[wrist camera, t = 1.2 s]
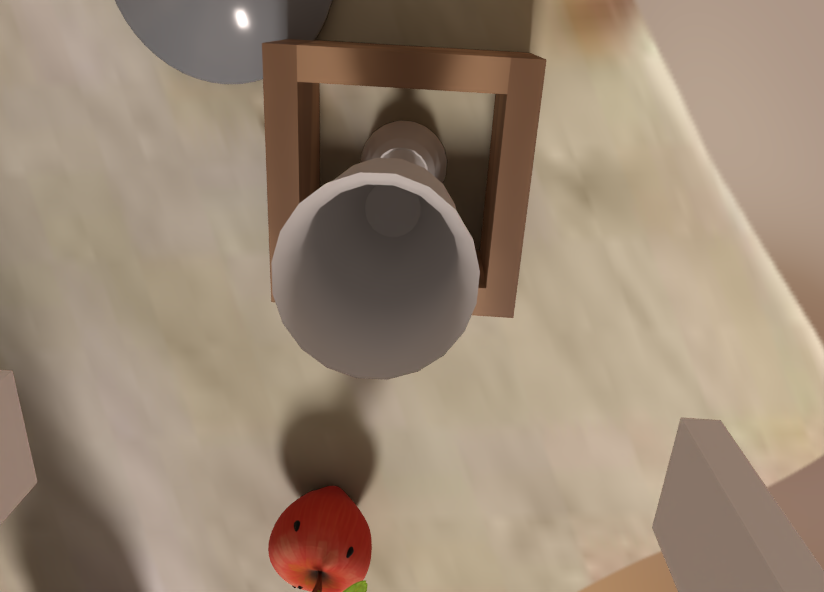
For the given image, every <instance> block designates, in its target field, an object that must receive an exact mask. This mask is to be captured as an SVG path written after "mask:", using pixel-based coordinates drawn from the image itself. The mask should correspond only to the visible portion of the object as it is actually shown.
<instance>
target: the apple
mask: <svg viewBox="0 0 824 592" xmlns="http://www.w3.org/2000/svg"><path fill="white" fill-rule="evenodd" d="M268 550H269V557H270V561H271V563H272V565H273V567H274V569H275V570H276V572H277V573H278V574H279V575H280V576H281V577H282V578H283V579H284V580H285V581H286V582H288V583H289V584H291V585H292V586H293V587H294V588H296V587H297V588H299V589H303V590H307V591H312V592H366V591H367V583H366V580H365V581H363V579H364V578H365V576H366V574H367V571H368V568H369V565H370V560H371V550H372V544H371V533H370V529H369V526H368V524H367V522H366V520H365V518H364V516H363V515H362V513H361V512H360V510H359V509H358V507H357V506H356V504H355V503H354V502H353V501H352V500H351V498H350V497H349V496H348V495H347V494H346V493H345V492H344V491H343V490H342V489H341V488H340V487H337V486H327V487H324V488H321V489H318V490H314V491H310V492H308V493H307V494H305V495H304V496H302V497H300V498H299V499H297V500H296V501H295V502H293V503H292V504H291V505H290V506H289V507H287V508H286V510H285V511H284V512H283V513H282V514H281V516H280V517H279V518H278V520H277V522H276V524H275V526H274V528H273V530H272V533H271V536H270V540H269V548H268Z"/></svg>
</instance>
